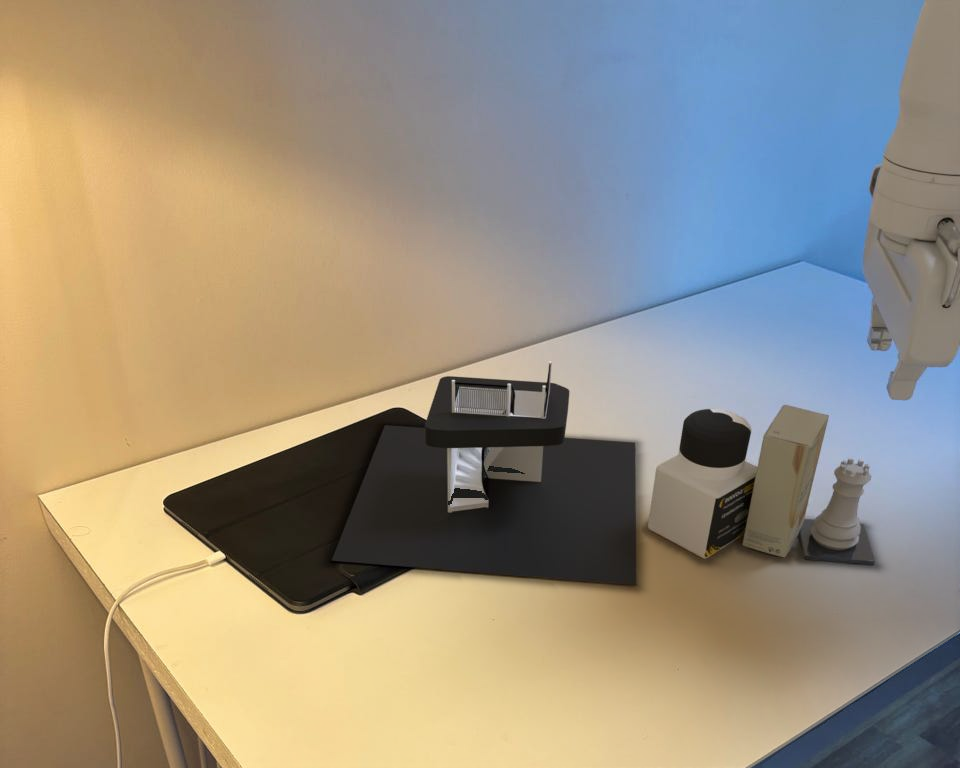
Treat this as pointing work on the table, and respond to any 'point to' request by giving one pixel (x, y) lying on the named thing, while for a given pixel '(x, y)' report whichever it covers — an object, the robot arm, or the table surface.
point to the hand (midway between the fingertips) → (887, 370)
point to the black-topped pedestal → (497, 490)
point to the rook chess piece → (842, 508)
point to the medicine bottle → (705, 484)
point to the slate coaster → (815, 551)
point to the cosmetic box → (784, 479)
